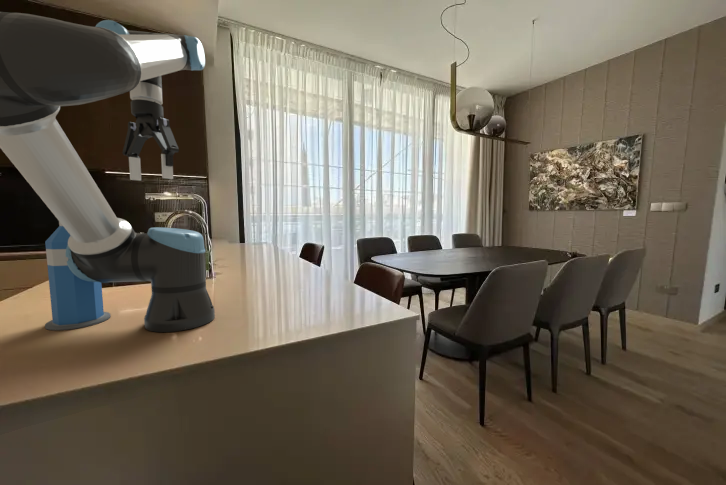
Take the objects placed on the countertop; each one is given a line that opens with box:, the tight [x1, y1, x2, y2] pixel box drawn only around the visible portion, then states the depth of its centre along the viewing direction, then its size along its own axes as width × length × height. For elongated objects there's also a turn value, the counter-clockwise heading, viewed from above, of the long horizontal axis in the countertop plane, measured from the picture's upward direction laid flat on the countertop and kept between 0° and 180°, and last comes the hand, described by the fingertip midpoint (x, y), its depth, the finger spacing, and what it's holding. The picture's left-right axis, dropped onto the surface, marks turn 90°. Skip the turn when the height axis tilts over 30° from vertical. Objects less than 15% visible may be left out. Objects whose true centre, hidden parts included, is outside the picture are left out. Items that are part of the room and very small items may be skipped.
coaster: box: [44, 311, 111, 332], centre depth 76 cm, size 12×12×1 cm
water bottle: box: [44, 221, 105, 325], centre depth 75 cm, size 9×9×25 cm
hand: (151, 179), depth 88 cm, fingers open, 13 cm apart
